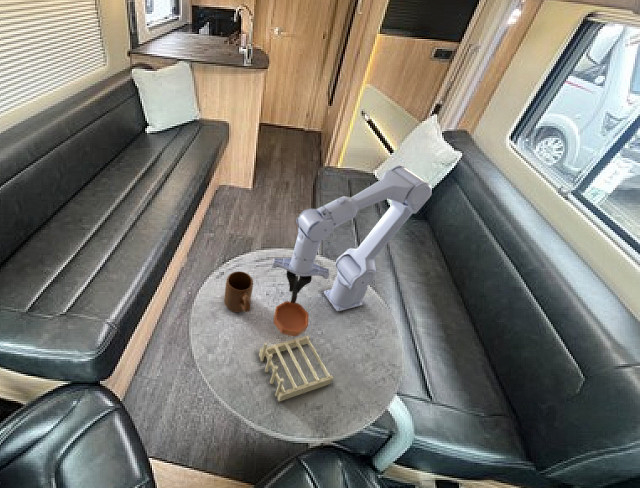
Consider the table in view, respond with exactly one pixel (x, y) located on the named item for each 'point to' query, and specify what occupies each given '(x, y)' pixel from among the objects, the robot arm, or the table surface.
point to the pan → (291, 315)
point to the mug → (238, 292)
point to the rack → (307, 386)
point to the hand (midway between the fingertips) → (294, 289)
